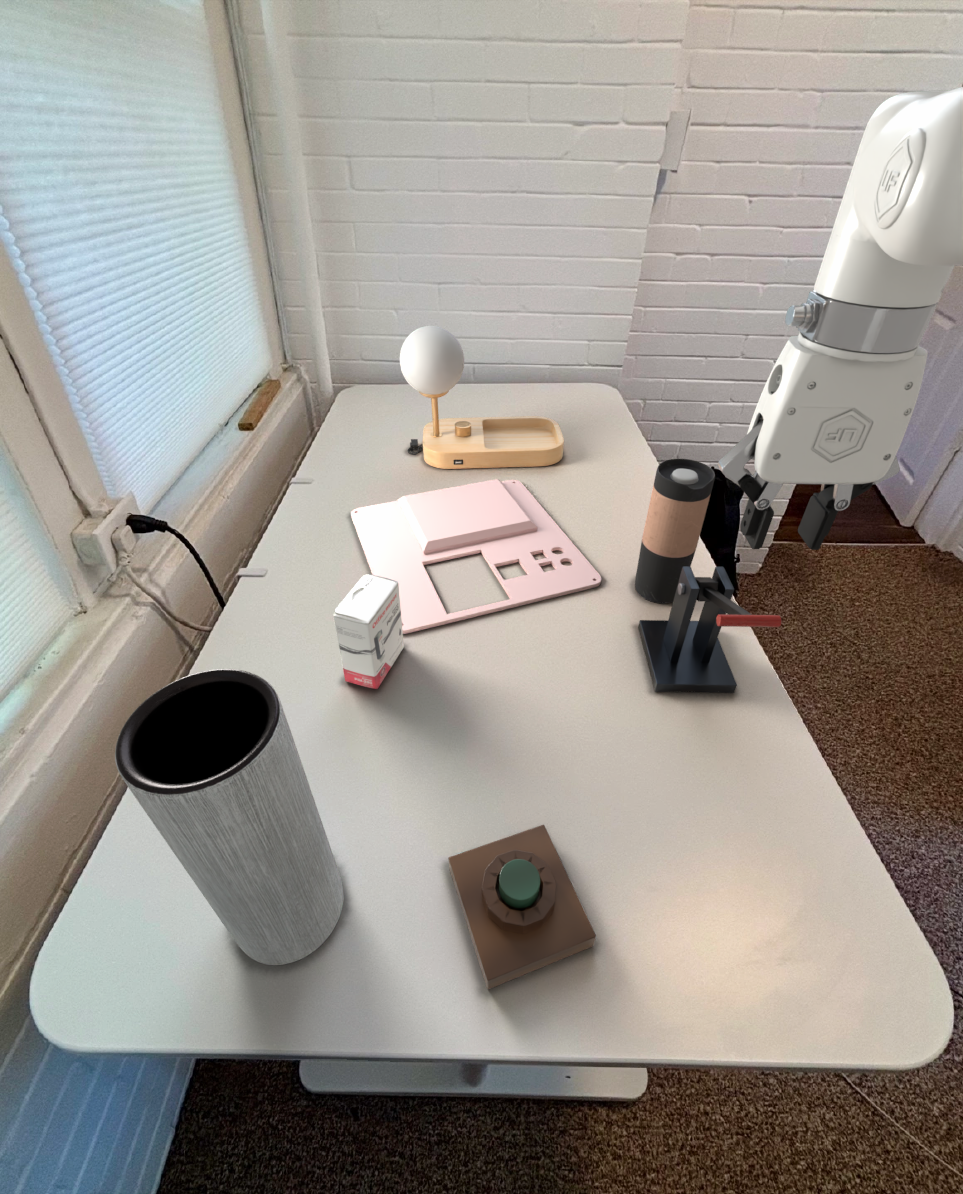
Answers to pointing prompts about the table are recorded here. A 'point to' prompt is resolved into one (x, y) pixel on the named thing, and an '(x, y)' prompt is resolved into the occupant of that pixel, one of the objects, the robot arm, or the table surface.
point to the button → (519, 883)
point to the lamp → (470, 441)
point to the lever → (732, 608)
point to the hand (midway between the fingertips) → (779, 539)
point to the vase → (236, 809)
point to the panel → (469, 547)
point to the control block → (513, 934)
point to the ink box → (369, 630)
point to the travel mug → (672, 526)
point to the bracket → (689, 642)
